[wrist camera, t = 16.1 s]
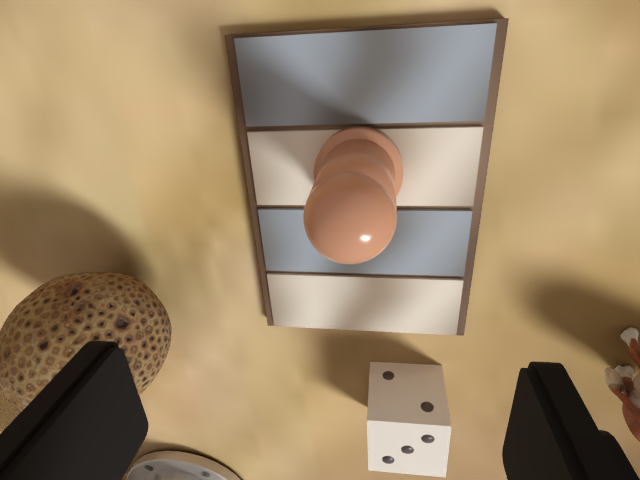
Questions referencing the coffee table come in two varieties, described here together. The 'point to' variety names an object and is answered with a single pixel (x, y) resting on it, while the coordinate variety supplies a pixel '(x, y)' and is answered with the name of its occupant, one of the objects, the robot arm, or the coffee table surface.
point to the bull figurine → (628, 382)
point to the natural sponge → (81, 330)
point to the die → (408, 419)
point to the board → (412, 142)
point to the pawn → (354, 195)
